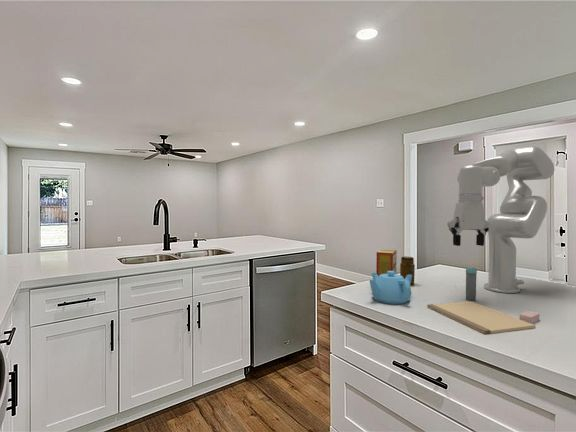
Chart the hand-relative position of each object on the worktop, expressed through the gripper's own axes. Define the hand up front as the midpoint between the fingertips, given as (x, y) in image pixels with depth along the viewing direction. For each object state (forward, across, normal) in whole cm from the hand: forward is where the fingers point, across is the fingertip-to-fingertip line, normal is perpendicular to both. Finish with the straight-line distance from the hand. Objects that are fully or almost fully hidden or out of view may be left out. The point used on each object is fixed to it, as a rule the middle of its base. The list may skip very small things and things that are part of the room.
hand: (468, 245), depth 121 cm
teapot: (+21, +27, -6) cm, 35 cm away
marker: (+20, -1, +1) cm, 21 cm away
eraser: (+21, -4, +22) cm, 31 cm away
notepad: (+21, +10, +16) cm, 28 cm away
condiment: (+21, +9, -26) cm, 34 cm away
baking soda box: (+21, +21, -23) cm, 37 cm away
